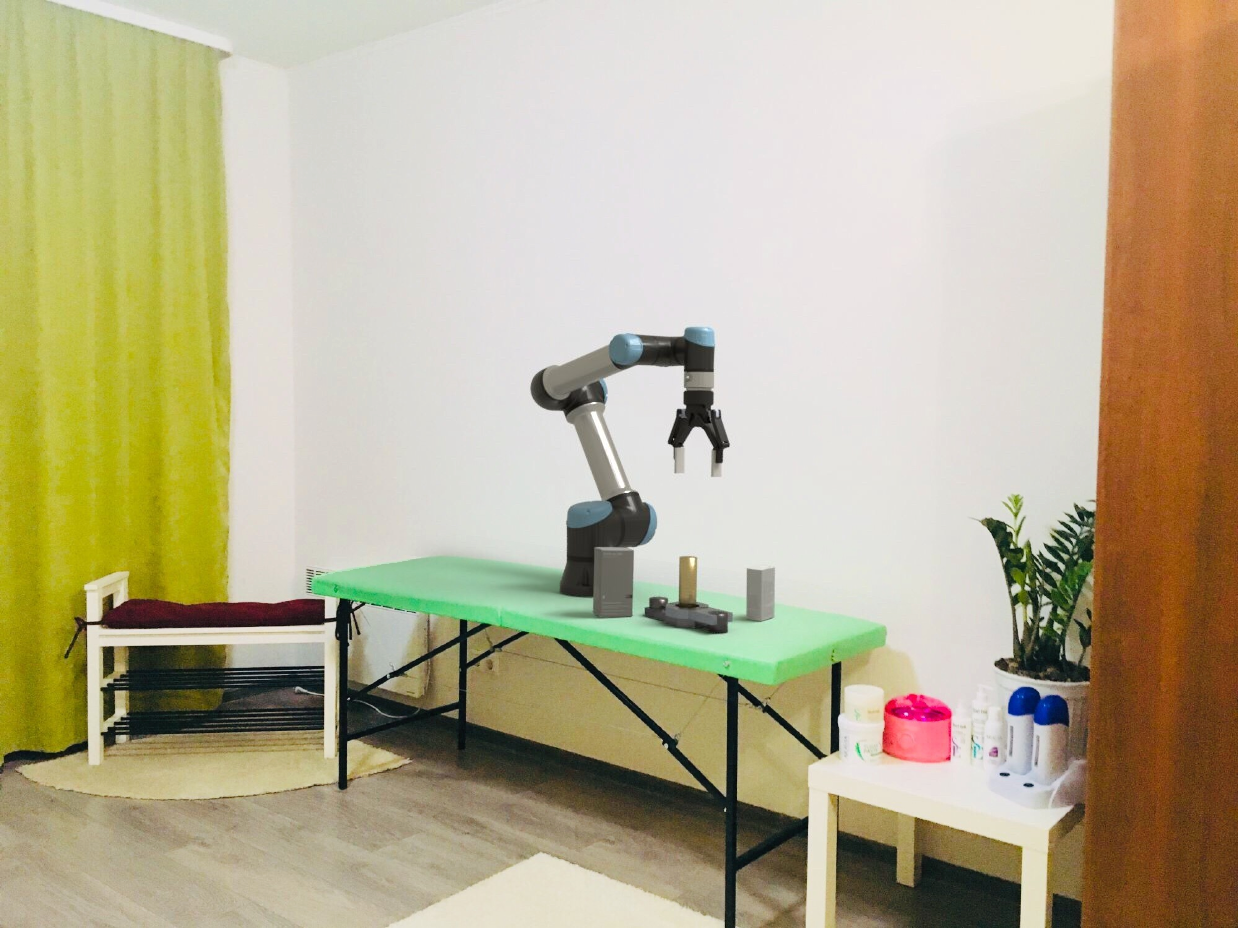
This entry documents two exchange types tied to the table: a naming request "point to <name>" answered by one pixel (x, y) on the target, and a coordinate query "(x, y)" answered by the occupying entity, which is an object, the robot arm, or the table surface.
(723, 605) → the table surface
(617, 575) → the skincare box
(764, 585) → the skincare box
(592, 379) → the robot arm
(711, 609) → the grey socket base
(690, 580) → the brass pin
